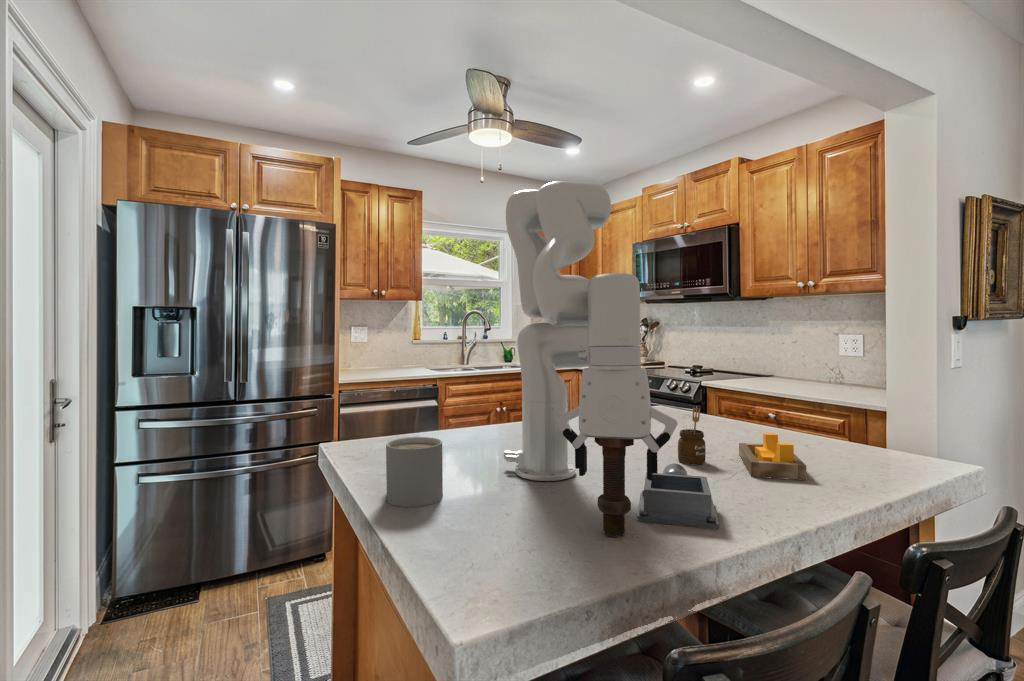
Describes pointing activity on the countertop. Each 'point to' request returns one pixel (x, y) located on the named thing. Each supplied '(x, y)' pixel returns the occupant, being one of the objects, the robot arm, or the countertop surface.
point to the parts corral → (770, 465)
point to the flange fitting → (677, 500)
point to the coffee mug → (414, 471)
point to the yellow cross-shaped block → (774, 450)
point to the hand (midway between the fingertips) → (615, 475)
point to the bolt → (614, 485)
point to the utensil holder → (692, 444)
